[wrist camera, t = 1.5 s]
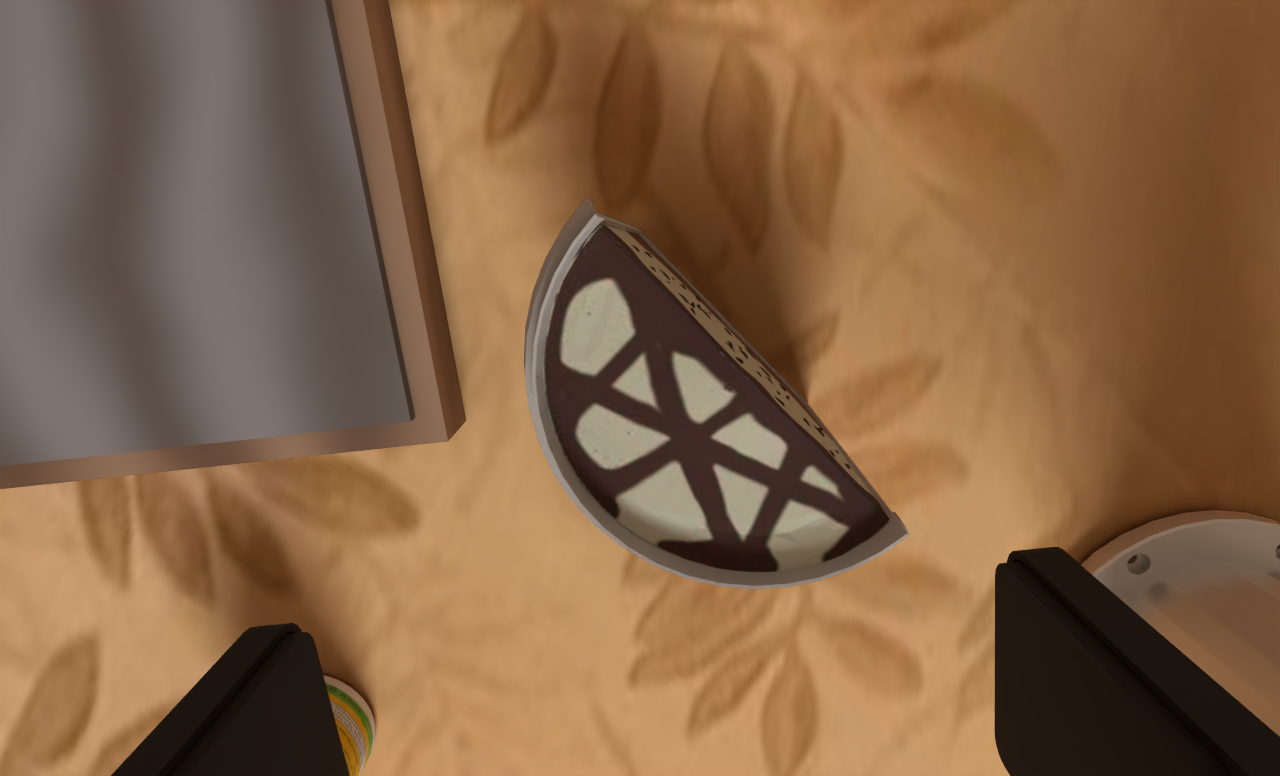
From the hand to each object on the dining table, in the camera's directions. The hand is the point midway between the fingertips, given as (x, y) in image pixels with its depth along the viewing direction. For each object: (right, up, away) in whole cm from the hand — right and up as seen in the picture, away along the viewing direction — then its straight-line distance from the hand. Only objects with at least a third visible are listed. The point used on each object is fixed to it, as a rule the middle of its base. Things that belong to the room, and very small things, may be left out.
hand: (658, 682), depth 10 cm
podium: (-17, +10, +17) cm, 26 cm away
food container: (+1, +5, +18) cm, 19 cm away
